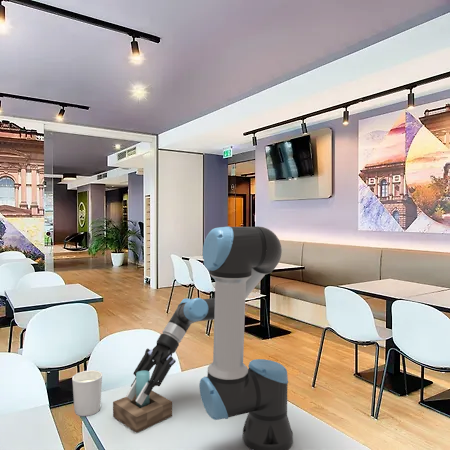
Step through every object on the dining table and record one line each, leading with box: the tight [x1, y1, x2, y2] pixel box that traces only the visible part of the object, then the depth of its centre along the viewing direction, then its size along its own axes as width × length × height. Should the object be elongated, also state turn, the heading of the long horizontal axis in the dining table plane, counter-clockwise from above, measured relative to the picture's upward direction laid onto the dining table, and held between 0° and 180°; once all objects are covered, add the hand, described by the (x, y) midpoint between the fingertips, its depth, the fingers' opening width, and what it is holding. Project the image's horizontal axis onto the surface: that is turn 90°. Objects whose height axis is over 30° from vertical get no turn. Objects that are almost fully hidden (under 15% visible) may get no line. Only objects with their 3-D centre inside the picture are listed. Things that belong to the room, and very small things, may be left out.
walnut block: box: [112, 390, 173, 434], centre depth 130 cm, size 14×14×5 cm
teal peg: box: [135, 370, 151, 408], centre depth 130 cm, size 4×4×12 cm
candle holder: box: [71, 370, 103, 417], centre depth 134 cm, size 10×10×12 cm
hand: (133, 400), depth 127 cm, fingers closed on teal peg, 4 cm apart
